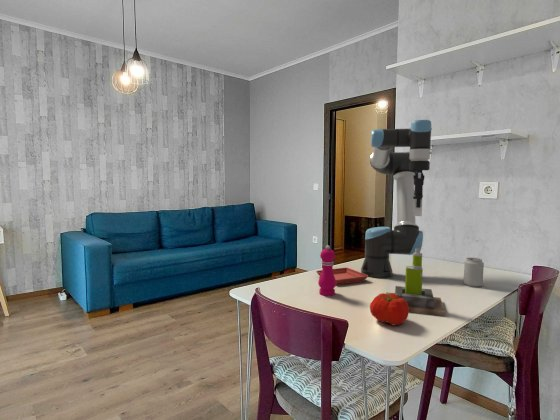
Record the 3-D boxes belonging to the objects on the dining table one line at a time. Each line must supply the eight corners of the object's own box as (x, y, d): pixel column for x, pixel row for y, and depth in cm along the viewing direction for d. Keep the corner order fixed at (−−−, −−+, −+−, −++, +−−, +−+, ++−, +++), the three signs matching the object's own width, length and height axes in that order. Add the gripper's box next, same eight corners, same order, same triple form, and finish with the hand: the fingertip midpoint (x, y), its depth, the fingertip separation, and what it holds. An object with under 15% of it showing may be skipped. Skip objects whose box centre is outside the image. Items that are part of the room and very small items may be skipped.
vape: (418, 304, 130) (420, 249, 128) (403, 300, 134) (404, 247, 133) (423, 302, 133) (425, 248, 131) (407, 298, 137) (409, 246, 135)
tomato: (365, 314, 124) (365, 290, 124) (400, 314, 125) (401, 290, 124) (375, 329, 112) (376, 302, 111) (415, 329, 112) (416, 302, 111)
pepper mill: (324, 297, 142) (325, 247, 140) (314, 292, 148) (315, 244, 147) (339, 294, 145) (340, 246, 144) (329, 290, 152) (330, 243, 150)
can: (466, 281, 165) (468, 256, 164) (484, 285, 160) (486, 258, 159) (461, 285, 160) (462, 258, 159) (479, 288, 155) (480, 261, 154)
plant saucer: (315, 277, 174) (315, 270, 173) (346, 273, 181) (346, 266, 180) (335, 287, 157) (335, 279, 157) (369, 282, 164) (369, 275, 164)
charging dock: (384, 309, 129) (384, 295, 129) (386, 295, 144) (386, 283, 144) (445, 316, 123) (445, 302, 122) (440, 301, 138) (440, 288, 137)
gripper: (431, 159, 128) (429, 218, 131) (428, 161, 152) (425, 210, 154) (409, 159, 131) (407, 217, 133) (409, 161, 154) (407, 210, 156)
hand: (417, 214), depth 143 cm, fingers open, 13 cm apart
